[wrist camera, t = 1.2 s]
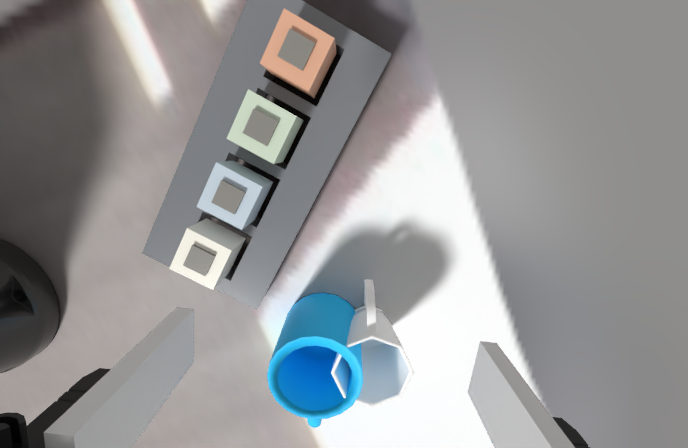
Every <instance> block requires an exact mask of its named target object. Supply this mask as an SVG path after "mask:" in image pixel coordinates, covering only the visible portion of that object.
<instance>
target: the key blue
mask: <svg viewBox="0 0 688 448" xmlns="http://www.w3.org/2000/svg"><path fill="white" fill-rule="evenodd" d="M272 184H273V181H271V180H269V179H267V178H265V177H263V176H262V175H260V174H258V173H256V172H254V171H252V170H250V169H248V168H247V167H245V166H243V165H241V164H239V163H237V162H235V161H233V160H230V161H221V162H216V163H215V166H214V168H213V170H212V172H211V175H210V177H209V179H208V182H207V184H206V186H205V188H204V191H203V193H202V195H201V197H200V200H199V202H198V204H197V207H198V208H200V209H202V210H204V211H206V212H208V213H209V214H211V215H213V216H215V217H217V218H219V219H221V220H223V221H225V222H227V223H229V224H231V225H233V226H235V227H237V228H239V229H241V230H243V229H244V228H245V227H246V226H248V225H249V224H250V223H252V222H253V221H254V220H255V219H256V217H257V215H258V212H259V210H260V208H261V206H262V204H263V202H264V200H265V198H266V196H267V194H268V192H269V190H270V188H271V186H272Z"/></svg>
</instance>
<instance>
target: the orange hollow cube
mask: <svg viewBox="0 0 688 448" xmlns="http://www.w3.org/2000/svg"><path fill="white" fill-rule="evenodd" d="M336 53H337V51H336V44H335V38H334V37H332V36H330V35H329V34H327V33H325V32H324V31H322V30H320V29H318V28H317V27H315V26H313V25H312V24H310V23H308V22H307V21H305V20H303V19H302V18H300V17H298V16H296V15H295V14H293V13H291V12H290V11H288V10H286V9H285V8H284V9H283V11H282V14H281V16H280V18H279V20H278V23H277V25H276V27H275V30H274V32H273V34H272V36H271V39H270V41H269V43H268V45H267V48H266V50H265V52H264V54H263V57H262V59H261V61H260V64H261V65H262V66H263V67H264V68H265V69H267V70H268V71H269V72H270V73H271V74H272V75H274V76H276V77H277V78H279V79H281V80H283V81H284V82H286V83H288V84H290V85H292V86H293V87H295V88H297V89H299V90H300V91H302V92H304V93H306V94H307V95H309V96H311V97H313V98H315V96H316V94H317V92H318V90H319V88H320V86H321V84H322V82H323V80H324V78H325V76H326V74H327V72H328V69H329V67H330V65H331V63H332V61H333V59H334V57H335V55H336Z"/></svg>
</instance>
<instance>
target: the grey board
mask: <svg viewBox="0 0 688 448" xmlns="http://www.w3.org/2000/svg"><path fill="white" fill-rule="evenodd" d="M284 8H285V9H286V10H288V11H290V12H291V13H293V14H295V15H296V16H298V17H300V18H302V19H303V20H305V21H307V22H308V23H310V24H312V25H313V26H315V27H317V28H318V29H320V30H322V31H324V32H325V33H327V34H329V35H330V36H332V37H334V38H335V44H336V51H337V53H336V54H338V55H339V56H341V58H340V60H339V62H338V64H337V66H336V68H335V70H334V72H333V74H332V76H331V79H330V81H329V83H328V85H327V87H326V89H325V91H324V93H323V95H322V97H321V99H320V101H319V103H318V105H317V107H316V106H315V105H313V104H311V103H309V102H308V101H306V100H304V99H302V98H300V97H299V96H297V95H295V94H293V93H292V92H290V91H288V90H286V89H285V88H283V87H281V86H279V85H277V84H276V83H274V82H272V81H273V79H274V77H275V76H274V75H272V74H271V73H270V72H269V71H268V70H267V69H265V68H264V67H263V66H262V65H261V64H260V61H261V59H262V57H263V54H264V52H265V50H266V48H267V45H268V43H269V41H270V39H271V36H272V34H273V32H274V30H275V27H276V25H277V23H278V20H279V18H280V16H281V14H282V11H283V9H284ZM390 56H391V53H389V52H388V51H386V50H384V49H383V48H381V47H379V46H378V45H376V44H374V43H373V42H371V41H369V40H368V39H366V38H364V37H363V36H361V35H359V34H358V33H356V32H354V31H353V30H351V29H349V28H348V27H346V26H344V25H343V24H341V23H339V22H338V21H336V20H334V19H333V18H331V17H329V16H328V15H326V14H324V13H323V12H321V11H319V10H318V9H316V8H314V7H313V6H311V5H309V4H308V3H306V2H304V1H303V0H247V1H246V4H245V6H244V9H243V11H242V13H241V16H240V18H239V21H238V23H237V25H236V28H235V30H234V33H233V35H232V38H231V40H230V42H229V45H228V47H227V50H226V52H225V54H224V57H223V59H222V62H221V64H220V66H219V69H218V71H217V74H216V76H215V79H214V81H213V83H212V86H211V88H210V91H209V93H208V95H207V98H206V100H205V103H204V105H203V108H202V110H201V112H200V115H199V117H198V120H197V122H196V124H195V127H194V129H193V132H192V134H191V136H190V139H189V141H188V144H187V146H186V149H185V151H184V153H183V156H182V158H181V161H180V163H179V165H178V168H177V170H176V173H175V175H174V178H173V180H172V182H171V185H170V187H169V190H168V192H167V194H166V197H165V199H164V202H163V204H162V206H161V209H160V211H159V214H158V216H157V219H156V221H155V223H154V226H153V228H152V231H151V233H150V235H149V238H148V240H147V243H146V245H145V248H144V250H143V252H142V253H143V254H145V255H147V256H149V257H151V258H153V259H155V260H157V261H159V262H161V263H163V264H165V265H167V266H169V267H170V266H171V263H172V261H173V259H174V256H175V254H176V252H177V250H178V247H179V245H180V243H181V241H182V238H183V236H184V234H185V231H186V229H187V228H188V227H190V226H192V225H194V224H196V223H198V222H200V221H202V220H204V219H206V218H207V219H209V220H210V217H211V216H212V217H214V218H216V219H218V220H220V221H222V222H224V223H226V224H228V225H230V226H232V227H234V228H236V229H238V230H240V231H242V232H244V233H246V234H248V235H250V236H251V237H252V238H251V240H250V243H249V245H248V247H247V249H246V251H245V253H244V255H243V257H242V259H241V261H240V263H239V265H238V267H235V266H232V268H231V270H230V272H229V274H228V275H227V276H226V277H225V278H224V279H223V280H222V281H221V282H220V283H219V284H218V285H217V286H216V287H215V288H214V289H216V290H218V291H220V292H222V293H224V294H226V295H228V296H230V297H232V298H234V299H237V300H239V301H241V302H243V303H245V304H247V305H249V306H251V307H253V308H255V309H258V307H259V305H260V303H261V302H262V300H263V298H264V296H265V294H266V293H267V291H268V289H269V287H270V285H271V283H272V281H273V279H274V277H275V275H276V274H277V272H278V270H279V268H280V266H281V264H282V262H283V260H284V258H285V256H286V255H287V253H288V251H289V249H290V247H291V245H292V243H293V241H294V239H295V238H296V236H297V234H298V232H299V230H300V228H301V226H302V224H303V222H304V220H305V219H306V217H307V215H308V213H309V211H310V209H311V207H312V205H313V203H314V201H315V200H316V198H317V196H318V194H319V192H320V190H321V188H322V186H323V184H324V183H325V181H326V179H327V177H328V175H329V173H330V171H331V169H332V167H333V165H334V164H335V162H336V160H337V158H338V156H339V154H340V152H341V150H342V148H343V147H344V145H345V143H346V141H347V139H348V137H349V135H350V133H351V131H352V129H353V128H354V126H355V124H356V122H357V120H358V118H359V116H360V114H361V112H362V110H363V109H364V107H365V105H366V103H367V101H368V99H369V97H370V95H371V93H372V92H373V90H374V88H375V86H376V84H377V82H378V80H379V78H380V76H381V74H382V73H383V71H384V69H385V67H386V65H387V63H388V61H389V59H390ZM248 89H249V90H251V91H252V92H254V93H256V94H258V95H260V96H261V97H263V98H265V97H266V94H269V95H271V96H272V97H274V98H276V99H278V100H280V101H281V102H283V103H285V104H287V105H288V106H290V107H292V108H294V109H296V110H297V111H299V112H301V113H303V114H304V115H306V116H308V117H310V118H311V119H310V121H309V123H308V125H307V127H306V129H305V131H304V133H303V135H302V137H301V139H300V141H299V143H298V145H297V147H296V149H295V151H294V153H293V155H292V157H291V160H290V162H289V164H288V166H287V165H285V164H284V163H282V162H281V163H276V164H273V163H271V162H269V161H267V160H265V159H263V158H261V157H260V156H258V155H256V154H254V153H252V152H250V151H248V150H247V149H245V148H243V147H241V146H239V145H237V144H235V143H234V142H232V141H230V140H228V139H226V138H227V136H228V134H229V132H230V129H231V127H232V125H233V123H234V120H235V118H236V116H237V113H238V111H239V109H240V107H241V104H242V102H243V100H244V98H245V95H246V93H247V91H248ZM238 157H239V158H241V159H242V160H244V161H246V162H248V163H250V164H252V165H254V166H255V167H257V168H259V169H261V170H263V171H265V172H267V173H269V174H270V175H272V176H274V177H276V178H278V179H280V182H279V184H278V186H277V188H276V190H275V192H274V194H273V196H272V198H271V200H270V202H269V204H268V206H267V208H266V210H265V212H264V214H263V216H262V218H259V217H256V219H255V220H254V221H253V222H252V223H250V224H249V225H248V226H246V227H245V228H244V229H243V230H241V229H239V228H237V227H235V226H233V225H231V224H229V223H227V222H225V221H223V220H221V219H219V218H217V217H215V216H213V215H211V214H209V213H208V212H206V211H204V210H202V209H200V208H198V207H197V204H198V202H199V200H200V197H201V195H202V193H203V191H204V188H205V186H206V184H207V182H208V179H209V177H210V175H211V172H212V170H213V168H214V166H215V163H216V162H221V161H230V160H233V161H235V162H236V160H237V158H238Z"/></svg>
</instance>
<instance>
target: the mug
mask: <svg viewBox="0 0 688 448" xmlns="http://www.w3.org/2000/svg"><path fill="white" fill-rule="evenodd" d="M354 314H356V313H355V309H354V308H353V307H352V306H351V305H350V304H349V303H348V302H347V301H346V300H344V299H342V298H341V297H339V296H337V295H333V294H328V293H315V294H311V295H308V296H306V297H303V298H301V299H300V300H299V301H298V302H297V303H295V304H294V305H293V307H292V308H291V310H290V311H289V313H288V315H287V318H286V320H285V323H284V326H283V328H282V331H281V334H280V337H279V339H278V342H277V345H276V347H275V350H274V353H273V355H272V358H271V361H270V364H269V369H268V374H267V378H268V384H269V389H270V391H271V393H272V394H273V396H274V398H275V400H276V401H277V402H278V403H279V404H280V405H281V406H282V407H283V408H285V409H286V410H287V411H289V412H291V413H293V414H295V415H297V416H300V417H305V418H308V424H309V425H310V426H311V427H318V426H320V424H321V420H322V419H324V418H330V417H333V416H336V415H338V414H341V413H342V412H344V411H345V410H347V409H348V408H349V407H351V406H352V405H353V404H354V402H355V401H356V399H357V398H358V397H359V395H360V392H361V388H362V385H363V370H362V353H361V343H359V344H356V345H354V346H351V347H347V346H346V344H347V339H348V335H349V330H350V325H351V321H352V319H353V316H354ZM337 353H339V354H340V355H341V356H342V357H343V358H344V359H345V360H346V361H347V362H348V364H349V366H350V368H349V377H348V386H347V395H346V398H344V397H343V395H342V393H341V392H340V390H339V388H338V386H337V384H336V382H335V380H334V378H333V376H332V374H331V371H332V368H333V364H334V361H335V358H336V355H337Z"/></svg>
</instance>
